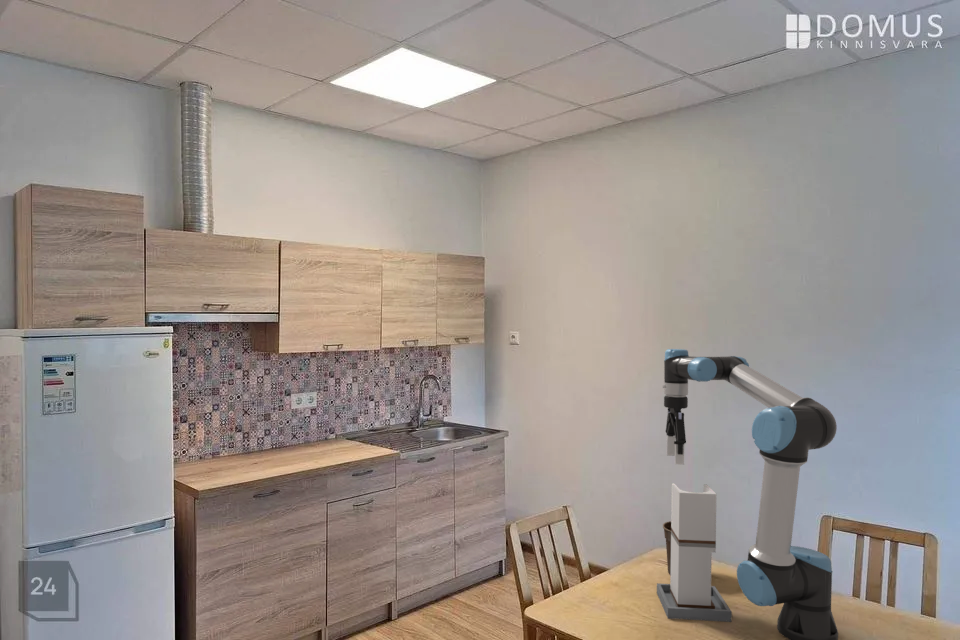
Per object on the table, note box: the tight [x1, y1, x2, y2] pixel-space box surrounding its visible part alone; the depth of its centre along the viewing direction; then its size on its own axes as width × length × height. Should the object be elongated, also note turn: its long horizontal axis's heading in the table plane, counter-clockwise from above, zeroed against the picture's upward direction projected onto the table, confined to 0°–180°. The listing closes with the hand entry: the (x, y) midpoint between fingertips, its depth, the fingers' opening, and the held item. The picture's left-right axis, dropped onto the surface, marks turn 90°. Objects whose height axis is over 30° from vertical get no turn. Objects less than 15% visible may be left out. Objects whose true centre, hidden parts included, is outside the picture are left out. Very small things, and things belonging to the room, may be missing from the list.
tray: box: [656, 583, 732, 623], centre depth 198 cm, size 18×18×3 cm
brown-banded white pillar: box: [669, 483, 717, 609], centre depth 198 cm, size 11×11×35 cm
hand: (675, 459), depth 216 cm, fingers open, 13 cm apart
